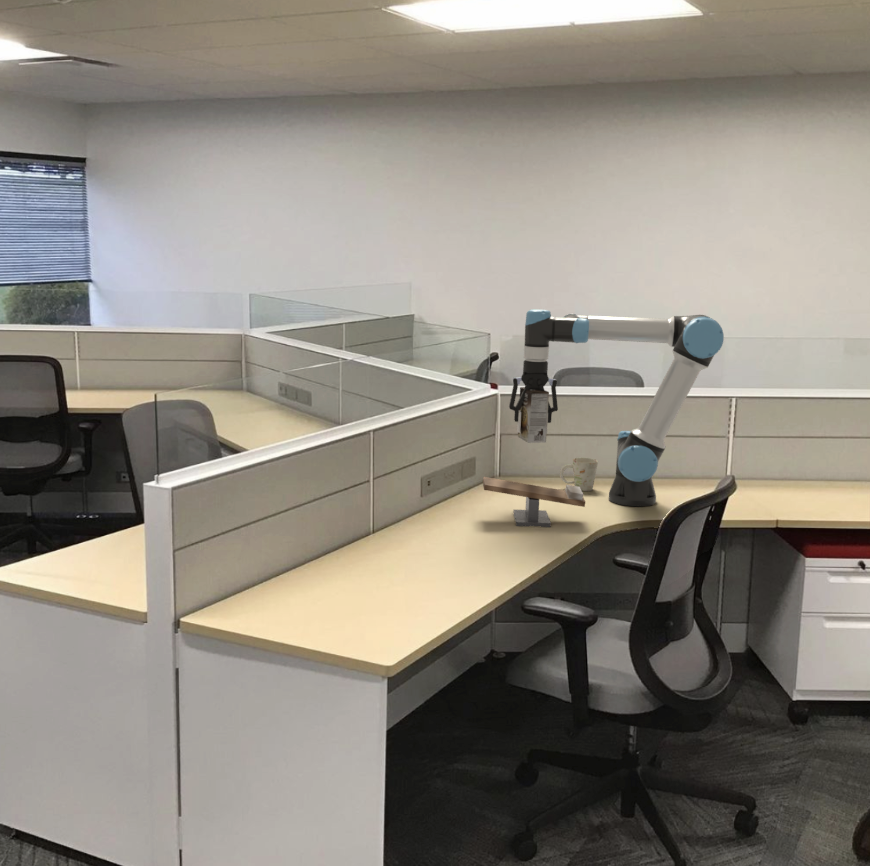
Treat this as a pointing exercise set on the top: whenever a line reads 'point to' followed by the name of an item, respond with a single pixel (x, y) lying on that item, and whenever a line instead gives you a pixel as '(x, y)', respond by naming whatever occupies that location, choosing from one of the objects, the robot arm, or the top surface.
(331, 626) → the top surface
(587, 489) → the mug
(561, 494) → the beam
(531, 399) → the coffee box
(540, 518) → the pivot stand
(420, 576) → the top surface
